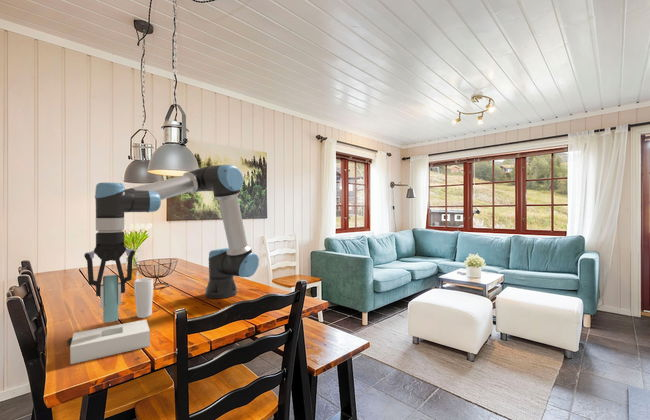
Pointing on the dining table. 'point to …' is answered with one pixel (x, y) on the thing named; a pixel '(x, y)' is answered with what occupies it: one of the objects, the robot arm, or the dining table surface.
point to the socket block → (109, 341)
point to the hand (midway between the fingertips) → (110, 304)
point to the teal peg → (110, 298)
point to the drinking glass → (143, 296)
